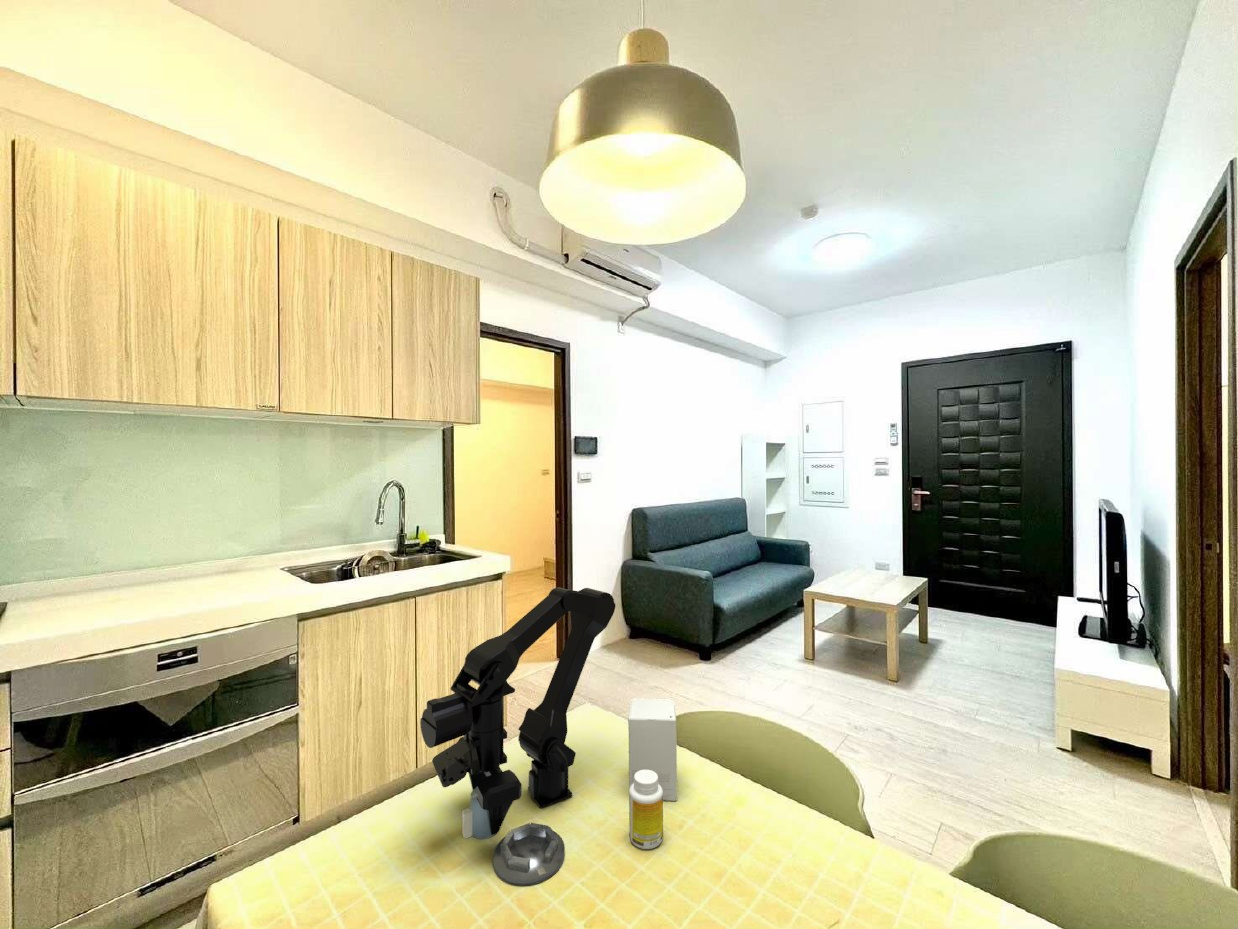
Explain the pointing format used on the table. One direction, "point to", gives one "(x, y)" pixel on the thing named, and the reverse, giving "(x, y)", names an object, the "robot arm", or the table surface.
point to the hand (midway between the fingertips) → (486, 817)
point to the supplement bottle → (646, 810)
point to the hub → (528, 855)
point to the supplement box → (654, 742)
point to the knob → (475, 820)
